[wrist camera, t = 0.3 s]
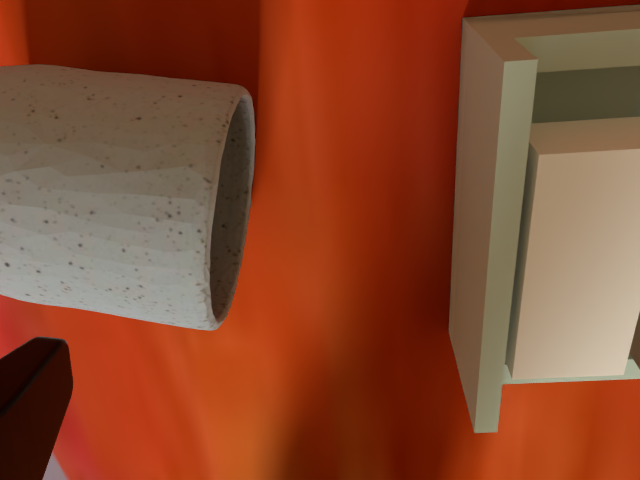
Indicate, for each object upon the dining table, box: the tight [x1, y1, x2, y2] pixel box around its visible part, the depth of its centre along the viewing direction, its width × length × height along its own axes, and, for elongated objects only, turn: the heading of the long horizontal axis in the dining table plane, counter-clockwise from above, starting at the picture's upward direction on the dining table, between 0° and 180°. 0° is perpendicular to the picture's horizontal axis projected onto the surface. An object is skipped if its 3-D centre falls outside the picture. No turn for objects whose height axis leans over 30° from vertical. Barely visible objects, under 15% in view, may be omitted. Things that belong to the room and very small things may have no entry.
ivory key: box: [505, 116, 640, 380], centre depth 19 cm, size 8×4×2 cm, turn 4°
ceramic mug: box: [0, 64, 256, 330], centre depth 19 cm, size 11×8×8 cm
